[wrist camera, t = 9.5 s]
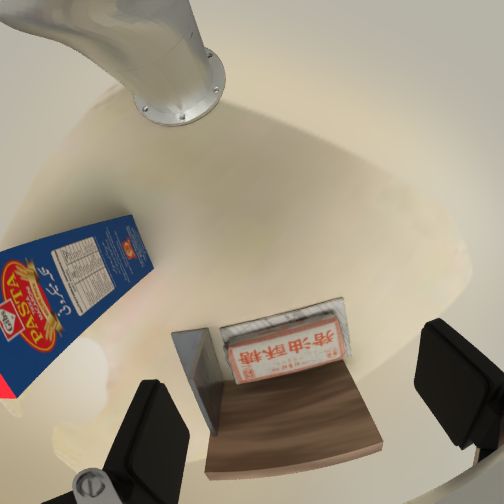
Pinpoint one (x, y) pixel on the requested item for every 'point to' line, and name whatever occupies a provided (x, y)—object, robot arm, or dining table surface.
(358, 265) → the dining table surface
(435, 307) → the dining table surface
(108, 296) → the pasta box
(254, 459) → the shelf panel
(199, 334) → the bookend
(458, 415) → the robot arm
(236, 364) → the packaged product
